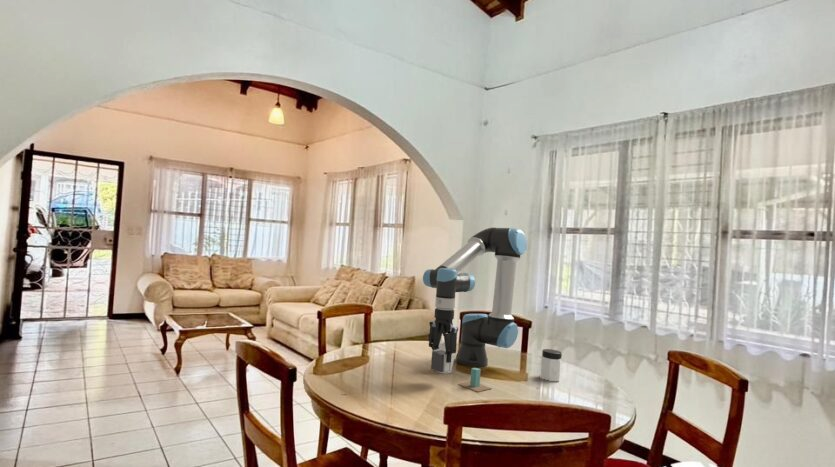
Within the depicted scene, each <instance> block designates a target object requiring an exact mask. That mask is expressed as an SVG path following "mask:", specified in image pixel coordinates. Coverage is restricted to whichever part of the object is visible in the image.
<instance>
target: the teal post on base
mask: <svg viewBox="0 0 835 467" xmlns="http://www.w3.org/2000/svg"><path fill="white" fill-rule="evenodd" d="M481 370H482V369H481V368H479V367H478V368H477V367H472V368H471V370H470V380H469V381H465V382H460V383H458V386H460V387H463V388H466V389H468V390H471V391H474V392H476V393H480V392H485V391H486V392H487V391H488V390H489V391H490V390H492V388H491V387H490V386H486V385H484V384H482V383H481Z"/></svg>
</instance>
